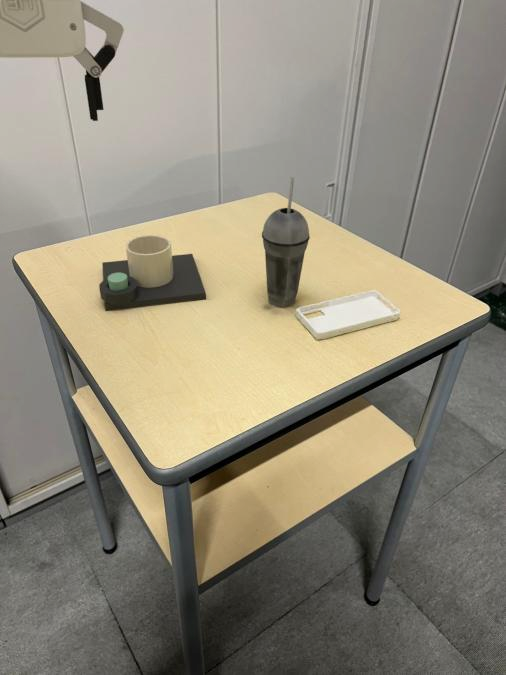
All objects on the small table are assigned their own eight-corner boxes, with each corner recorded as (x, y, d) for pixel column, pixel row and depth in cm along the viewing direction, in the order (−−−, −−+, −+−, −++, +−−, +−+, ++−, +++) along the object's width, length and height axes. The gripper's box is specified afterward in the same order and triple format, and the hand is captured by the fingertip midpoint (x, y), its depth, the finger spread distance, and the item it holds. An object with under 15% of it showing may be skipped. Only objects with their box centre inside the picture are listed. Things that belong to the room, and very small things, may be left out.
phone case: (317, 341, 76) (400, 319, 81) (318, 333, 75) (402, 311, 80) (294, 315, 81) (373, 296, 86) (294, 307, 80) (375, 289, 85)
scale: (102, 312, 81) (99, 296, 79) (100, 268, 92) (98, 253, 90) (206, 300, 84) (206, 284, 82) (192, 259, 95) (191, 244, 94)
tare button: (109, 292, 81) (107, 282, 79) (108, 283, 83) (107, 273, 82) (129, 290, 81) (127, 280, 80) (127, 281, 83) (126, 271, 82)
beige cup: (131, 290, 84) (127, 257, 80) (128, 268, 90) (124, 237, 86) (175, 285, 85) (173, 252, 82) (170, 264, 91) (167, 233, 88)
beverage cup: (251, 304, 83) (254, 183, 72) (271, 284, 89) (277, 168, 77) (292, 317, 81) (302, 193, 69) (310, 295, 86) (322, 176, 74)
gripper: (-131, -113, 38) (-57, 132, 48) (112, -98, 42) (134, 125, 52) (-102, -104, 44) (-41, 113, 54) (109, -91, 47) (129, 108, 57)
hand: (45, 119), depth 53 cm, fingers open, 9 cm apart
